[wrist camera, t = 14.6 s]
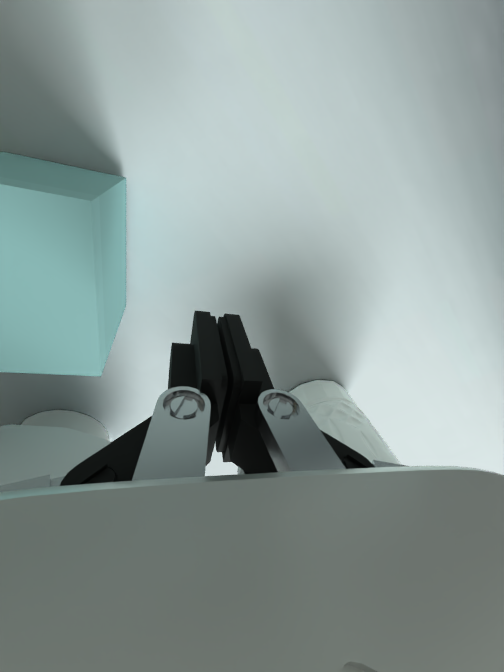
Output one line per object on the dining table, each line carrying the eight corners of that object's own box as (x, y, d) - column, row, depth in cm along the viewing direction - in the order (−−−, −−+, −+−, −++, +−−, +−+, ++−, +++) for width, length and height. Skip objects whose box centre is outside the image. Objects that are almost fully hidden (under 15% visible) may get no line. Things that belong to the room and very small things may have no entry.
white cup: (275, 444, 29) (311, 566, 21) (261, 388, 24) (300, 515, 16) (352, 422, 29) (417, 533, 21) (353, 362, 25) (436, 474, 16)
